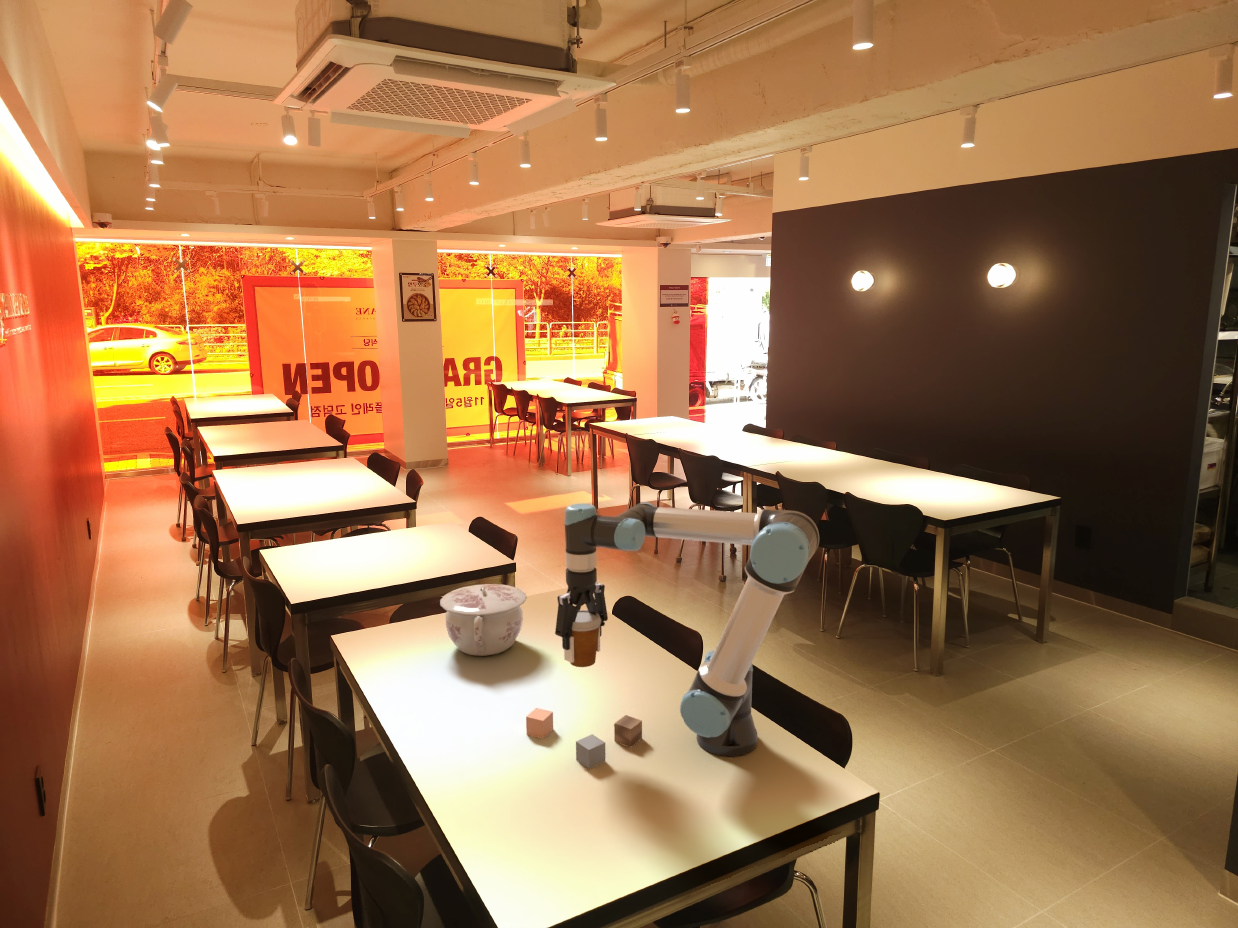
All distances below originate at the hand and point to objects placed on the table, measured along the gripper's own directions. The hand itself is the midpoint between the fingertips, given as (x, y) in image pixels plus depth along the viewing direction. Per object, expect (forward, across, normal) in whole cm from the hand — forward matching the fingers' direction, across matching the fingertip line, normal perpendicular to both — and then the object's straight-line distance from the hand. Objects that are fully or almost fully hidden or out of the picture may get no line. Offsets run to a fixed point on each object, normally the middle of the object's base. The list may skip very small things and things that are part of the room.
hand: (582, 655), depth 192 cm
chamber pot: (+22, -15, -63) cm, 69 cm away
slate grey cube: (+22, +6, +9) cm, 25 cm away
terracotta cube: (+22, +6, -10) cm, 25 cm away
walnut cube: (+22, -7, +9) cm, 25 cm away
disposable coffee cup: (+2, 0, 0) cm, 2 cm away
